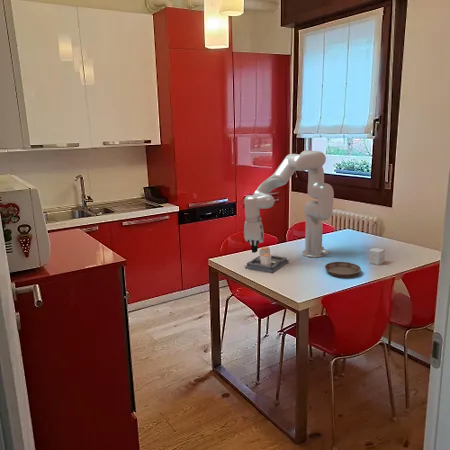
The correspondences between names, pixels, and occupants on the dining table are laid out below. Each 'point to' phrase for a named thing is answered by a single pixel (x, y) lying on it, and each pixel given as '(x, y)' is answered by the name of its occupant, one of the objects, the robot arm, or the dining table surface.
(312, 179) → the robot arm
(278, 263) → the grey compartment tray
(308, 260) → the dining table surface
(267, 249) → the white orange-topped block
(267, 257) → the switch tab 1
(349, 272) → the plant saucer
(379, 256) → the product box
